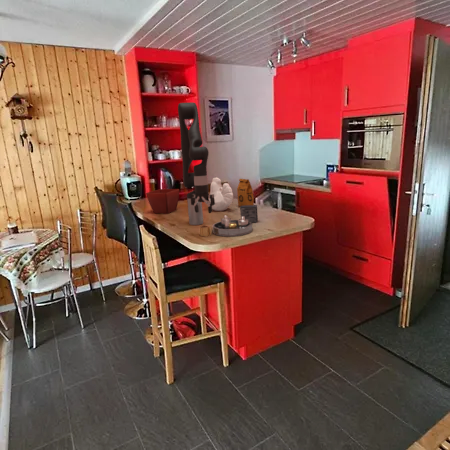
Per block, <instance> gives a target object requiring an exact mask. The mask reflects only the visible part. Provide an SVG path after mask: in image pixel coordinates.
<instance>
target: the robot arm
mask: <svg viewBox="0 0 450 450" xmlns="http://www.w3.org/2000/svg"><path fill="white" fill-rule="evenodd" d="M177 105H178V106H177V114H178V122H179V123H178V124H179V129H180V150H181V158H182V159H181V160H182V183H183V186H184V188H186V189H188V188H194V189H193V190H192V191H190V192H188V193H186V200H187V202H186V203H187V213H188V214H187V216H188V223H189V225H190V226H198V225H199V226H200V225H202V224H204V213H203V203H205V205H207V211H208V214H212V212H213V209H212V206H213V205H215V200H214V194H212V195H210V193H209V180H208V173H207V172H208V171H207V165H208V159H209V149H208V148H207V147H206V146H203V139H202V133H201V130H200V129H201V128H200V119H199V110H198V105H197V104H196V102H191V101H190V102H180V103H178V104H177ZM185 120H186V121H187V120H192V123H191V125H190V127H189V128H188V126H187V125H186V121H185ZM193 161H201V162H200V163H198V164H195V165H194V166H193V172H189V170H190V166H191V165H192V162H193ZM209 198H210V200H209ZM210 201H211V202H210Z"/></svg>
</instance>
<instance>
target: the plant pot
mask: <svg viewBox="0 0 450 450" xmlns="http://www.w3.org/2000/svg"><path fill="white" fill-rule="evenodd" d="M145 196H146V198H147V202H148V203H149V206H150V208H151V210H152V211H153V213H154V214H158V213H163V214H170V213H173V212H175V211H177V208H178V203H179V199H180V189H179V188H162V189H161V188H159V189H155V190H151V191H148V192H146V193H145Z"/></svg>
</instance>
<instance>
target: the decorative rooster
mask: <svg viewBox="0 0 450 450" xmlns="http://www.w3.org/2000/svg"><path fill="white" fill-rule="evenodd" d="M209 188H210V193H209V195H212V194H214V200H215V205H213V206H212V211H215V212H217V211H218V212H220V211H221V212H222V211H227V209H228V208H229V207H230V205H231V204H232V203H233V201H234V193H233V189H232V187H231V186H230V184H229V183H228V182H225V183H223V184H222V180H221V179H220V178H219V177H213V178H212V180H211V183H210V187H209ZM208 199H209V200H210V198H208ZM210 202H211V201H210Z"/></svg>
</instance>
